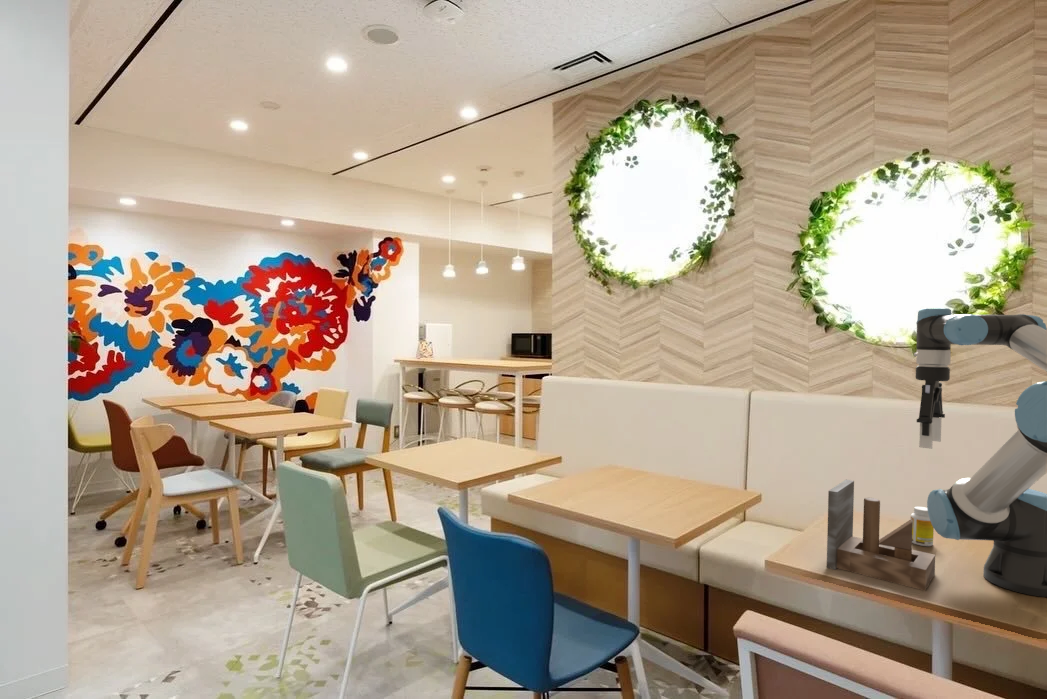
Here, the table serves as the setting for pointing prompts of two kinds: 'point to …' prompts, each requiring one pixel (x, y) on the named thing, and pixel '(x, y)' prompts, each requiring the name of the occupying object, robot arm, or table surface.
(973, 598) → the table surface
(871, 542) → the wooden block
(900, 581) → the post block
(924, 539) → the supplement bottle
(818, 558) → the table surface
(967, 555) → the table surface
